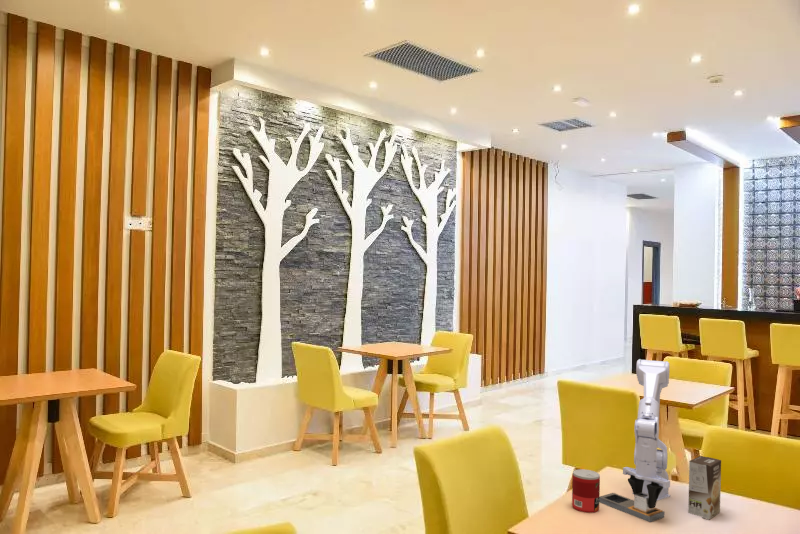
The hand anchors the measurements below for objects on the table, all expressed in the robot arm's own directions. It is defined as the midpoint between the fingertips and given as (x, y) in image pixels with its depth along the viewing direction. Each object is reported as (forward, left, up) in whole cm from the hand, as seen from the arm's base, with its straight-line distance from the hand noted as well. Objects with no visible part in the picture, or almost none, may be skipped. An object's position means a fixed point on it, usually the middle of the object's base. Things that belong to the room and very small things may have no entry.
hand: (645, 504), depth 182 cm
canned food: (+11, -13, -4) cm, 17 cm away
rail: (0, -5, -3) cm, 6 cm away
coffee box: (-18, +8, -4) cm, 20 cm away
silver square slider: (+1, 0, -3) cm, 3 cm away
